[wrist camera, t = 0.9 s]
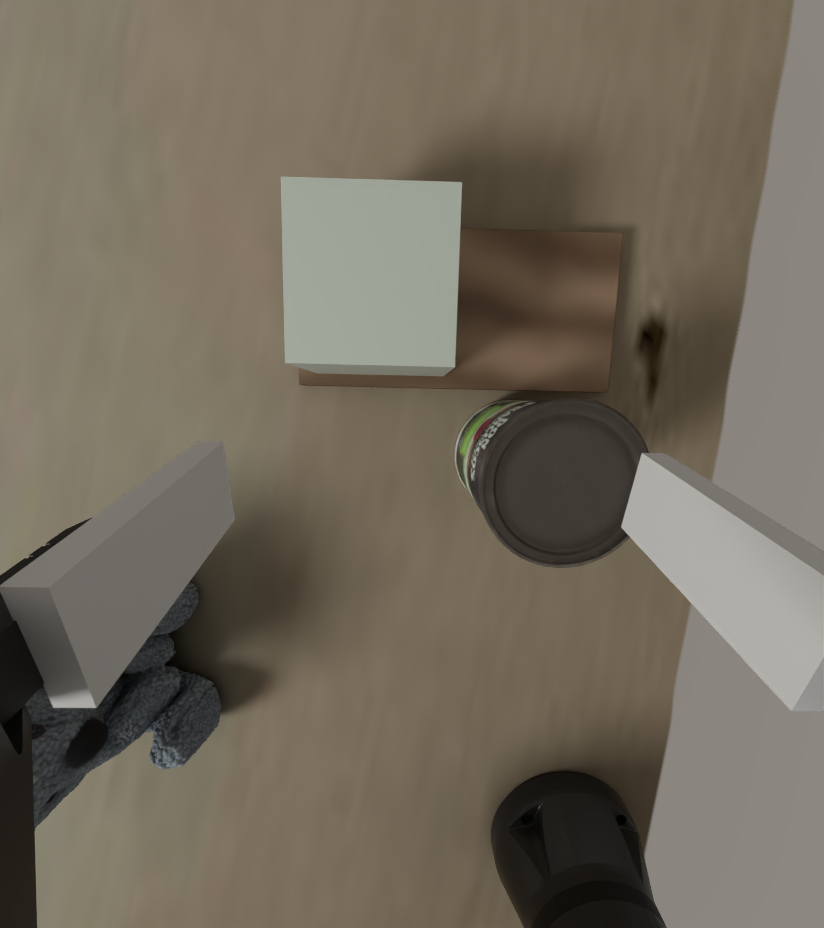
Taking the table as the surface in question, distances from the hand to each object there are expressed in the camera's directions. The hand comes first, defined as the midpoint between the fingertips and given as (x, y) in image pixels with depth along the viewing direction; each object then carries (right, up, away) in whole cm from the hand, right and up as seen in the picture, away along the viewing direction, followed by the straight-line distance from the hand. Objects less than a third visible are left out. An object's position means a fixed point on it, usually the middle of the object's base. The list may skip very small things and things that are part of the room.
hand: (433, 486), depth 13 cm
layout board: (+3, +14, +23) cm, 27 cm away
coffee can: (+8, +2, +25) cm, 26 cm away
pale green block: (-3, +14, +21) cm, 26 cm away
